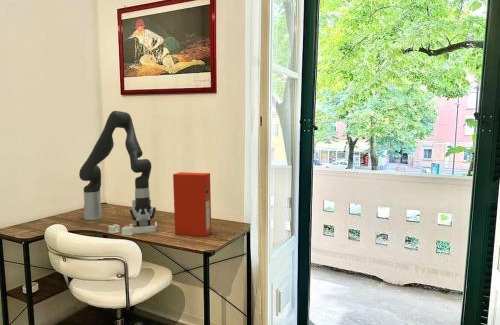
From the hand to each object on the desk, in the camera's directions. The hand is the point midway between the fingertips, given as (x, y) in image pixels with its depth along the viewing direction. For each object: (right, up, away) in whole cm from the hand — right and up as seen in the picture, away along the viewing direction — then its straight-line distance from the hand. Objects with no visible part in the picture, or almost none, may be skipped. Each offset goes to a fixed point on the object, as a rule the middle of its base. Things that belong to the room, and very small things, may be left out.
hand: (143, 226), depth 182 cm
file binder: (+28, -3, -7) cm, 29 cm away
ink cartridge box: (-8, 0, +22) cm, 23 cm away
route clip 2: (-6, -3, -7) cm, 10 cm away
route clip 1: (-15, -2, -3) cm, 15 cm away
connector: (-1, -2, +3) cm, 3 cm away
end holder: (0, -2, 0) cm, 2 cm away
